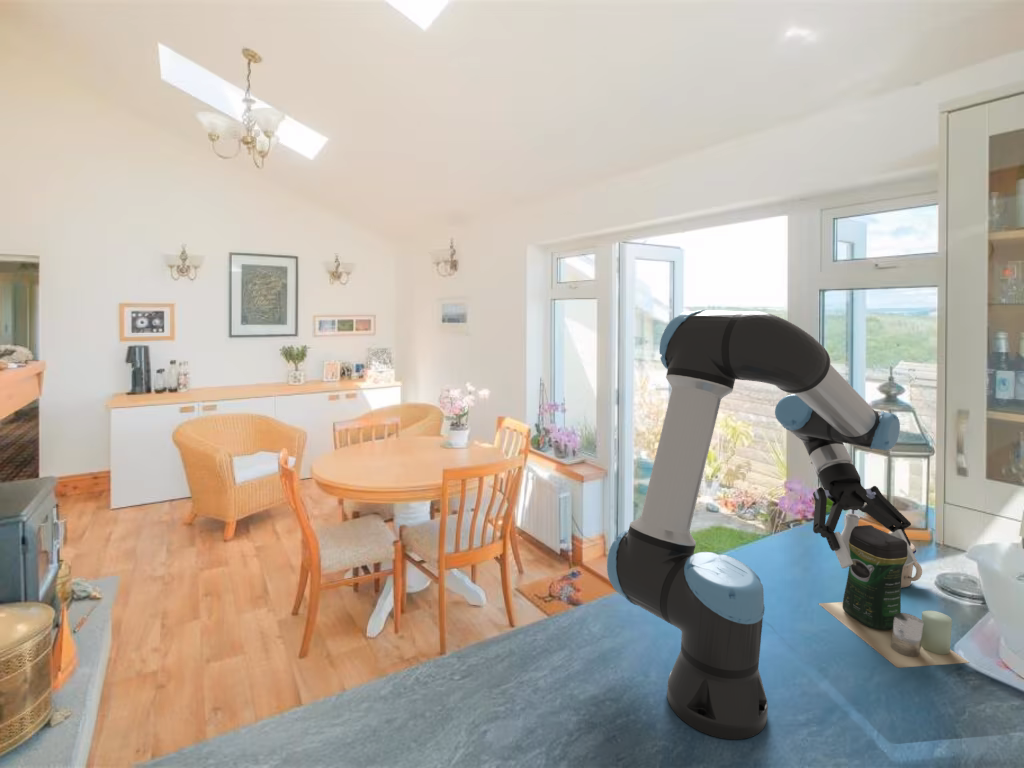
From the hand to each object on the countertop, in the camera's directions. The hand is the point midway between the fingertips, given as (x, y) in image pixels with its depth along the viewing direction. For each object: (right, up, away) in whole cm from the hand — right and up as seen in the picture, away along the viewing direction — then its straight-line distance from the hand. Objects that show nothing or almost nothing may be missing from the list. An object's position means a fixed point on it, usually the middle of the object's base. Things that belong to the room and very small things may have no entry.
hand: (879, 564), depth 110 cm
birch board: (0, -14, -2) cm, 14 cm away
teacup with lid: (+17, -11, +20) cm, 28 cm away
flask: (+16, -9, +36) cm, 40 cm away
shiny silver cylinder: (-1, -13, -8) cm, 15 cm away
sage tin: (+5, -13, -8) cm, 16 cm away
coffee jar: (-1, -12, +2) cm, 12 cm away
